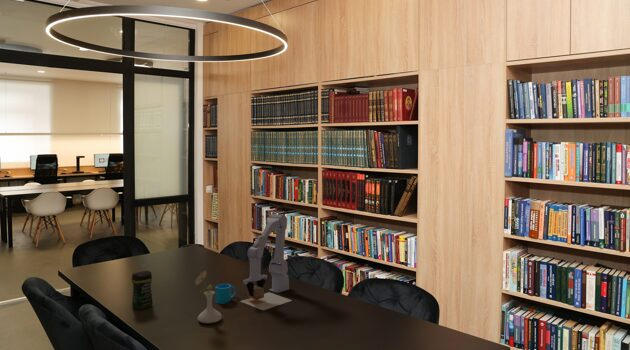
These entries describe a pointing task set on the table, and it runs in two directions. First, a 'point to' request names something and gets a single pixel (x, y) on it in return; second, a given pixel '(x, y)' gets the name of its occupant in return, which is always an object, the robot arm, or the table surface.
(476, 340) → the table surface
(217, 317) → the flower in vase
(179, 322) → the table surface
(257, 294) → the box
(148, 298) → the coffee jar
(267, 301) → the card mat
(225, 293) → the mug
